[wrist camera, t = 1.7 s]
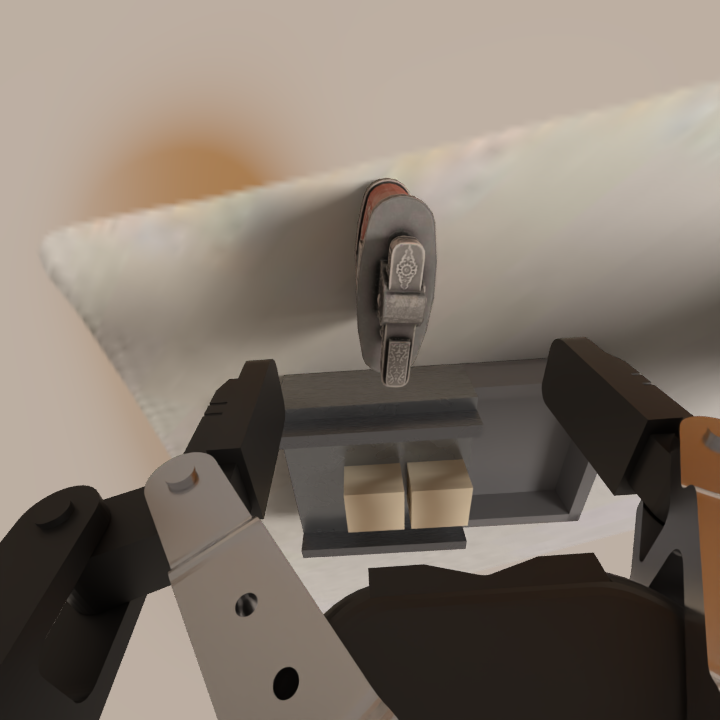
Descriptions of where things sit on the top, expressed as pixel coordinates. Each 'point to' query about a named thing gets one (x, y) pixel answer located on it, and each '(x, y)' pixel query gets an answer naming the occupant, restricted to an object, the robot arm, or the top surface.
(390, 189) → the lighter
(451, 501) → the chip
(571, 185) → the top surface
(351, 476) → the chip
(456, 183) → the top surface
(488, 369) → the tray
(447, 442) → the slot block
